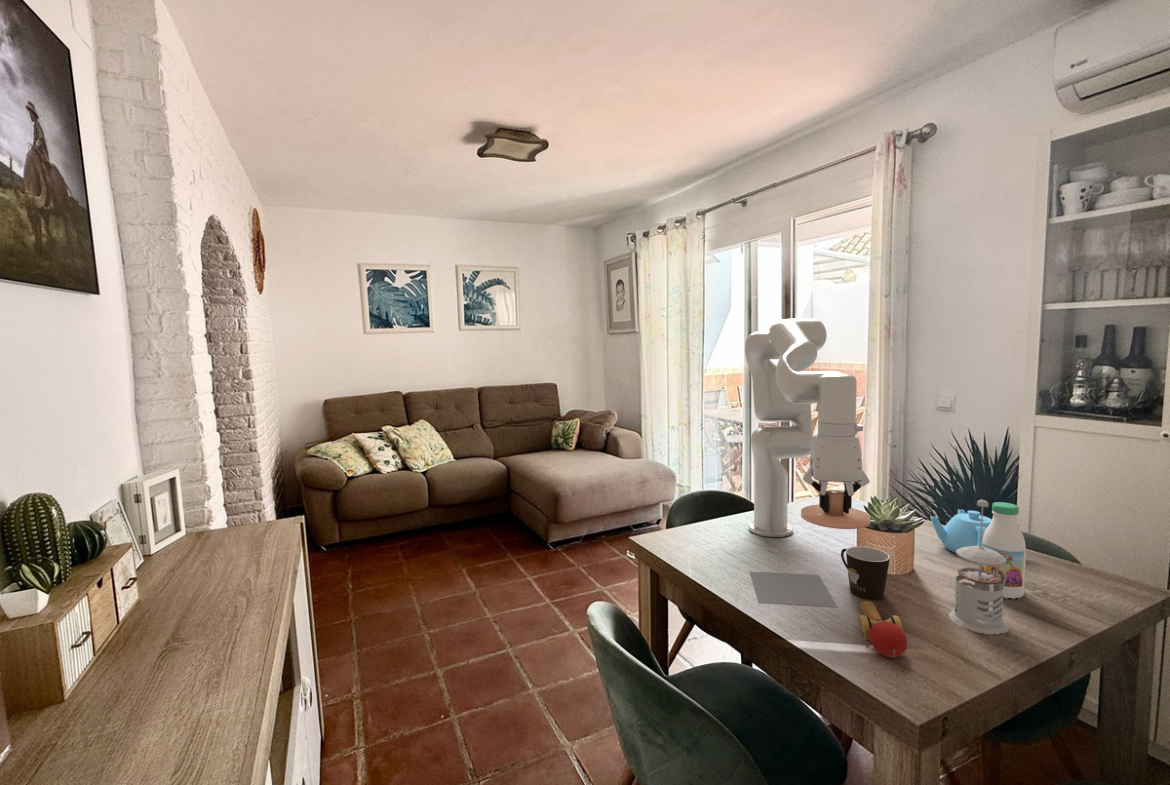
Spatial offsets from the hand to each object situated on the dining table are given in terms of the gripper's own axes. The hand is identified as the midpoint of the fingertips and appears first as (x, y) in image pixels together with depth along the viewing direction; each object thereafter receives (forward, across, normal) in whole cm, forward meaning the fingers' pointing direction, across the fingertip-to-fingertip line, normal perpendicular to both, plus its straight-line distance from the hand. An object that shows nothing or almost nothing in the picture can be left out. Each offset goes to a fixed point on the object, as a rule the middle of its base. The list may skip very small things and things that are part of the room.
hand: (835, 510), depth 119 cm
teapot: (+20, -42, -32) cm, 56 cm away
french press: (+19, -26, +8) cm, 33 cm away
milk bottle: (+19, -36, -6) cm, 42 cm away
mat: (+19, +9, +1) cm, 21 cm away
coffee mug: (+19, -7, -1) cm, 20 cm away
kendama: (+20, -4, +17) cm, 26 cm away
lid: (+2, 0, 0) cm, 2 cm away
